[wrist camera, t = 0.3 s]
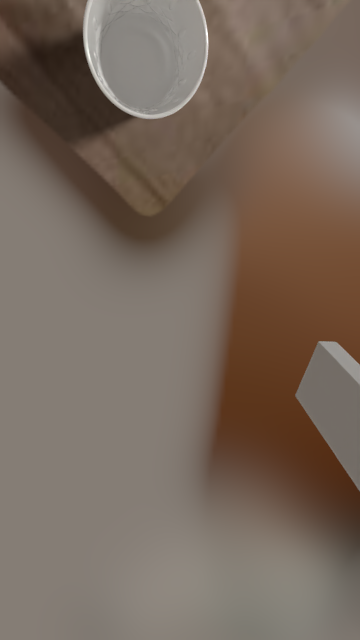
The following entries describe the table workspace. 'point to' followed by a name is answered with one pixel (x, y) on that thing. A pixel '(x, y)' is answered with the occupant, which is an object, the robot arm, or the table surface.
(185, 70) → the white cup
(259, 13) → the table surface
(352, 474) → the robot arm
